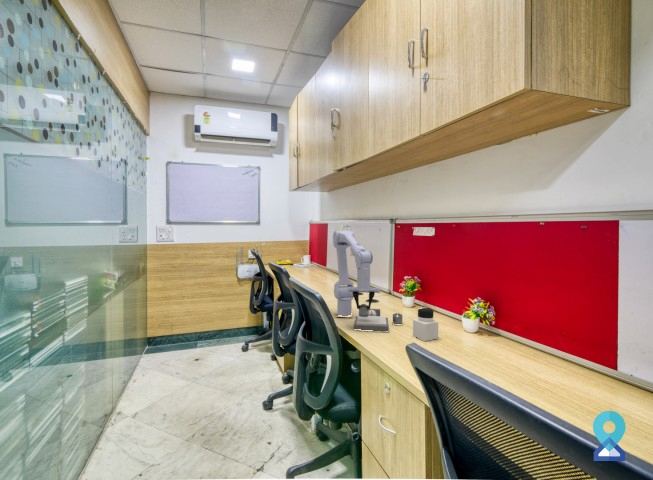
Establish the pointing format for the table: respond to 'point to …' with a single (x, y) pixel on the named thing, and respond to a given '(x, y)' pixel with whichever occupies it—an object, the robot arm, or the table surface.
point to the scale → (372, 321)
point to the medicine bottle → (425, 325)
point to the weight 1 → (363, 310)
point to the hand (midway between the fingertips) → (363, 308)
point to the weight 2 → (397, 318)
